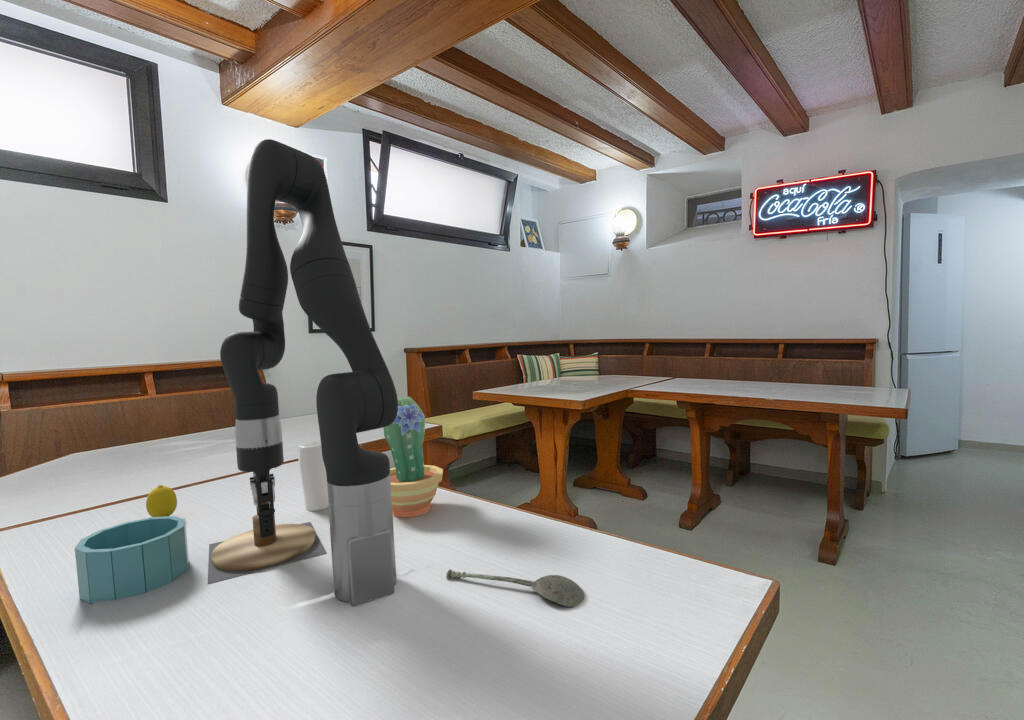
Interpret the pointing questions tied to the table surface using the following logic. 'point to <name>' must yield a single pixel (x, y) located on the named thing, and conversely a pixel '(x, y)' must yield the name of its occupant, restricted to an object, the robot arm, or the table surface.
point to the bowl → (131, 558)
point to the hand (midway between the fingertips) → (265, 528)
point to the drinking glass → (313, 475)
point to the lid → (263, 547)
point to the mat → (221, 575)
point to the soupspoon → (539, 586)
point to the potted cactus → (410, 462)
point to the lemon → (161, 502)
